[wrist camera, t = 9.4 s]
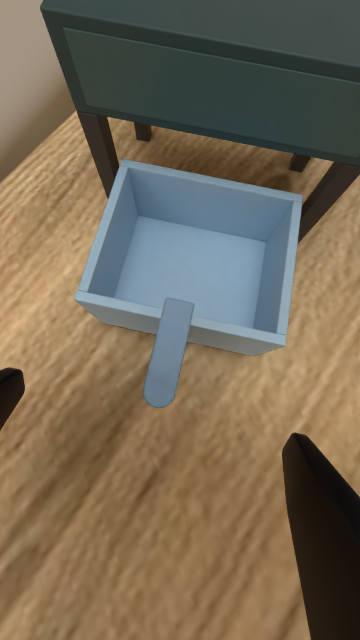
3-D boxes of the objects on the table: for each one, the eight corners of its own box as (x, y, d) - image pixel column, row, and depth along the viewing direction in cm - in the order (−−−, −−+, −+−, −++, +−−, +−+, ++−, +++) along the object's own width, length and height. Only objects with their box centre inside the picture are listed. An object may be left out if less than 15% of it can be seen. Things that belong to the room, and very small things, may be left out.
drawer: (246, 414, 18) (321, 446, 9) (84, 377, 18) (-6, 371, 9) (271, 241, 22) (344, 135, 12) (134, 212, 22) (106, 88, 13)
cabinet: (292, 250, 22) (443, 82, 10) (111, 212, 22) (37, 7, 10) (303, 162, 24) (435, -64, 12) (139, 129, 24) (106, -120, 12)
